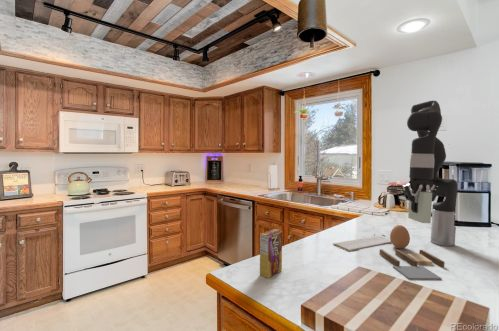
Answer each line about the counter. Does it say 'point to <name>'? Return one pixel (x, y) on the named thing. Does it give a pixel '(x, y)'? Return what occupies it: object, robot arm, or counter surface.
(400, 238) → the egg
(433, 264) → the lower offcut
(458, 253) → the counter surface
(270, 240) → the candy box
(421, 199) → the pale green block
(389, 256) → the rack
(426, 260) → the upper offcut
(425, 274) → the rubber mat
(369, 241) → the baseboard molding
